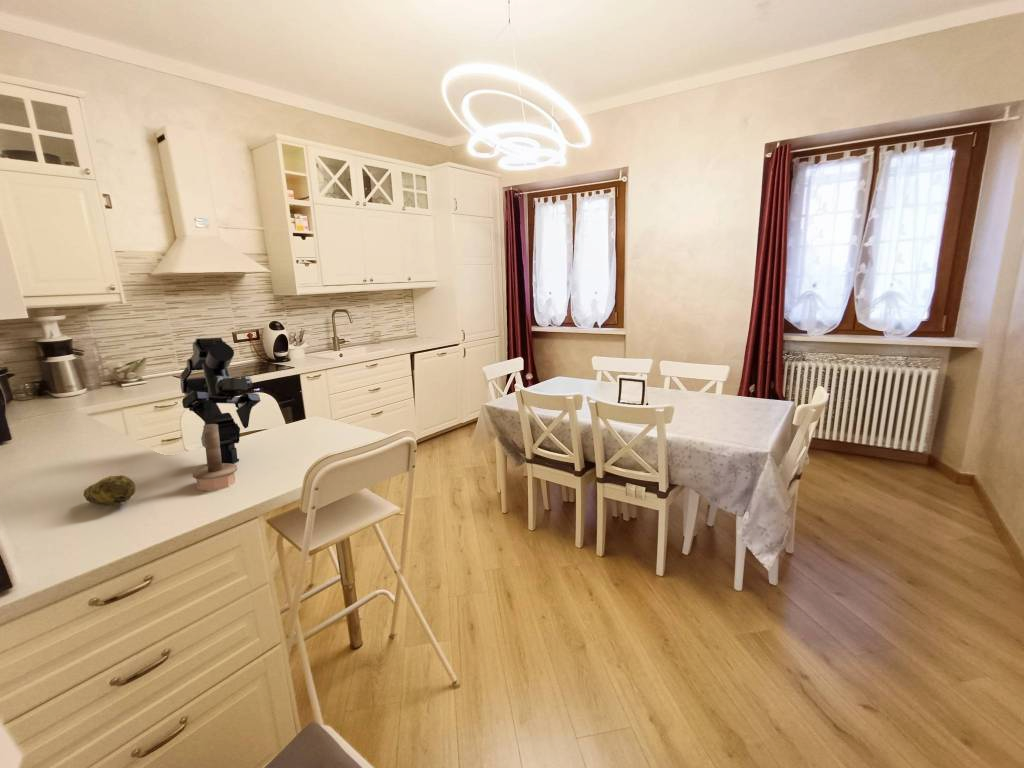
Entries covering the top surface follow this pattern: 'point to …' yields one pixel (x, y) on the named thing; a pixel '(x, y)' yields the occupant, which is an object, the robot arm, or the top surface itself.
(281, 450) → the top surface
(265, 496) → the top surface
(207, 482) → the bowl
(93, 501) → the avocado
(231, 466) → the peg on round base
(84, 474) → the top surface
